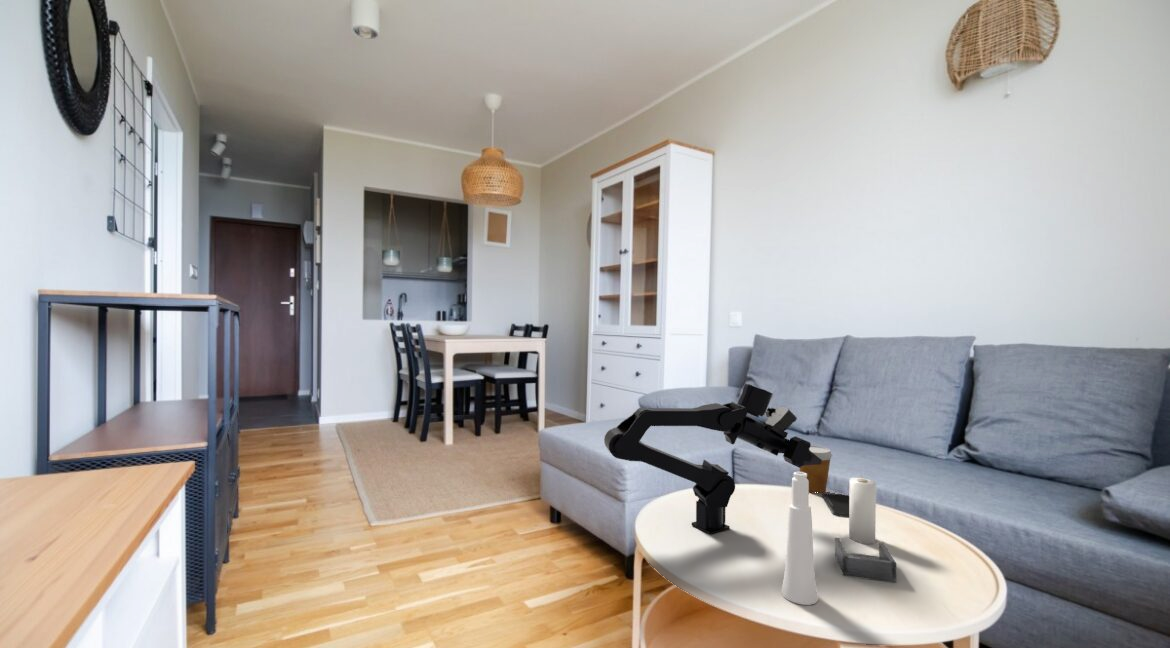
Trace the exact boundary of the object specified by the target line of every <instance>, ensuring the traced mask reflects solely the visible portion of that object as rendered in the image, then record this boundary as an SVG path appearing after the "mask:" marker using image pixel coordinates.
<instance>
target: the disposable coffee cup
mask: <svg viewBox="0 0 1170 648" xmlns="http://www.w3.org/2000/svg"><path fill="white" fill-rule="evenodd" d="M809 450H810V451H811V452H812V453H814V454H815V455H816V456H817V457H819V458H820V459H821V460H822V462H821V464H820V465H806V466H802V467H800V468H799V472H804V473H806V474H807V477H806V478H807V479H808V481H809V494H815V492H816V493H817V492H818V494H819V493H822V494H824V493H827V492H826V491H827V486H828V478H829V471H830V466H831V465H830V464H831V459H832V457H833V454H832V451H831V449H830V448H827V447H825V446H820V445H812V444H811V446H810V449H809Z"/></svg>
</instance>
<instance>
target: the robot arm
mask: <svg viewBox="0 0 1170 648" xmlns="http://www.w3.org/2000/svg"><path fill="white" fill-rule="evenodd" d="M772 397H773V393H772V392H770V391H768V390H766V389H763V388H760V387H756V386H754V385H752V384H749V383H745V384H744V386H743V388H742V392H741V395H740V397H739V399H738V401H737V403H736V402H732V401H731V402H728V403H725V404H720V403H717V402H714V403H708V404H703V405H699V406H698V407H693V408H691V407H689V408H685V407H684V408H679V407H677V408H675V407H673V408H672V407H671V408H669V407H668V408H667V407H665V408H664V407H663V408H661V407H656V408H655V407H654V408H653V407H650V408H649V407H648V408H647V407H645V406H641V407H639V408H637V409H636V410H635V411H634V412H633V413H632V414H631V415H630V416H628V417H627V418H626V419H625V418H624V420H623V421H621V422H620V423H619V424H618V425H617V426H616V427H613V428H611V429H609V430H608V431H606V433H605V435H604V438H603V439H604V440H603V442H604V446H605V447H606V449H607V450H608V452H609V453H610V455H612V456H613V457H614V458H615V459H619V460H622V461H623V460H624V461H629V462H642V463H645V464H646V465H650V466H652V467H655V468H656V469H660V470H662V471H665V472H667V473H669V474H671V475H675V476H677V477H679V478H682V479H685V480H688V481H689V482H693V483H695V485H694V486H692V491H693V494H694V496H695V497H697V500H696V501H695V505H696V506H695V510H696V511H695V513H696V514H695V521H693V522H691V526H693V527H695V528H697V529H699V530H701V531H703V532H705V533H706V534H708V535H712V534H713V535H714V534H717V533H719V532H723V531H726V530H730V526H729V525H727V524H726V508H727V507H728V504H729V502H730V499H731V496H732V495H733V494H734V492H735V489H736V482H735V479H734V478H733V477H732V476H730V475H729V474H730V472H728V471H727V470H726V469H725V468H723V467H721V466H720V465H719V464H716V463H715V464H714V463H711V462H709V461H708V460H705V459H703V462H702V464H695V463H693V462H691V461H689V460H685V459H683V458H680V457H678V456H675V455H672V454H670V453H668V452H666V451H663V450H661V449H658V448H656V447H653V446H650V445H648V444H646V443H644V442H642V441H641V439H642V438H643V436H644V435H645V434H646V433H647V431H648V430H649V428H651V427H700V428H704V429H708V430H712V431H717V432H723V435H724V437H725V441H726V442H727V443H729V444H731V445H735V444H736V441H737V439H738V440H741V441H743V442H746V443H747V444H748V443H749V444H751V445H753V446H755V447H756V448H758V449H761V450H763V451H765V452H768V453H770V454H772V455H774V456H776V457H777V456H778V455H779V454H782V457H783V460H784V461H785V463H786V462H787V463H788V464H790V465H792V466H795V467H797V468H799V469H800V467H802V466H806V465H820V464H821V462H822V460H821V459H820V458H819V457H817V456H816V455H815V454H814V453H812V452H811V451H810V450H809V449H810V446H811V445H812V444H811V442H810V441H808V440H805V439H803V438H801V437H798V436H793V437H790V439H788V438H787V436H788V434H789V432H787V430H788V429H789V428H790V427H791V425H793V423H795V422H796V421H797V419H798V418H797V415H795V414H794V413H793V412H792V411H791V410H790V409H789V408H787V407H784V406H781V405H780V406H776V407H775V408H774V407H770V406H769V404H770V402H771V399H772ZM748 415H750V416H752V417H755V418H759V416H760V417H763V416H765V417H766V421H765V422H764V421H759V420H756V419H754V418H752V417H750V416H748Z"/></svg>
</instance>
